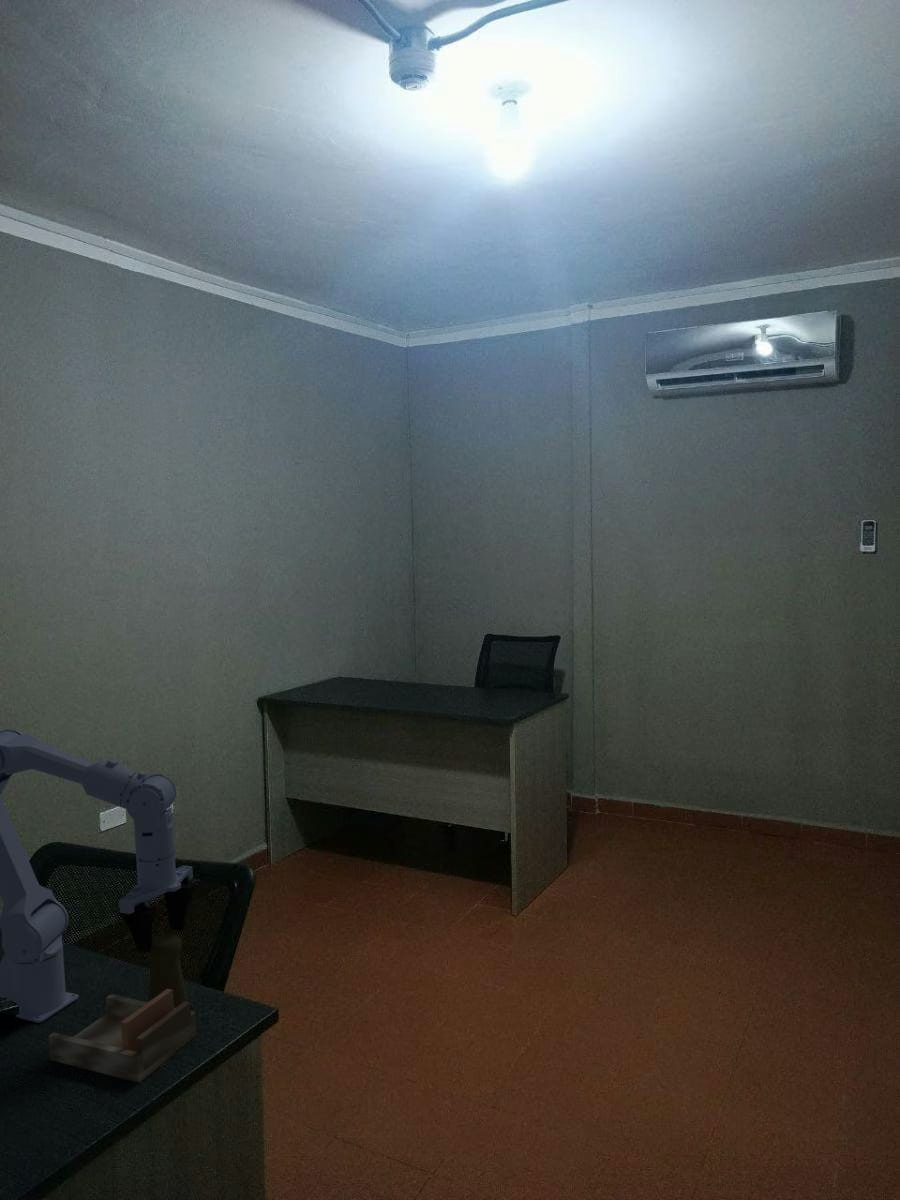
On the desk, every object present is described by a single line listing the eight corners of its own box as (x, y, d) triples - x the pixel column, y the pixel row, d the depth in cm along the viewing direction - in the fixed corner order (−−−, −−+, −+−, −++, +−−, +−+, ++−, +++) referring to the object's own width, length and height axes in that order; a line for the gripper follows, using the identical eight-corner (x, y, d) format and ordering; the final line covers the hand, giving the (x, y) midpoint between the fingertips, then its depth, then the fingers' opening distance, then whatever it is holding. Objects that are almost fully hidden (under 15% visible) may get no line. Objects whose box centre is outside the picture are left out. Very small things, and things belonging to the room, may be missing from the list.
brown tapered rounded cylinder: (175, 1016, 134) (171, 947, 134) (139, 1013, 136) (135, 945, 135) (194, 996, 140) (190, 929, 140) (160, 993, 142) (156, 927, 141)
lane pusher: (123, 1063, 121) (120, 1021, 120) (169, 1027, 129) (167, 988, 129) (129, 1064, 120) (126, 1023, 120) (175, 1028, 129) (172, 989, 128)
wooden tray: (50, 1059, 124) (47, 1022, 124) (112, 1016, 135) (110, 981, 135) (139, 1082, 118) (136, 1043, 118) (196, 1035, 129) (194, 999, 129)
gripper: (143, 875, 128) (149, 964, 129) (206, 842, 142) (211, 923, 143) (105, 870, 131) (112, 957, 132) (171, 838, 144) (176, 918, 145)
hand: (161, 939), depth 137 cm, fingers open, 7 cm apart
